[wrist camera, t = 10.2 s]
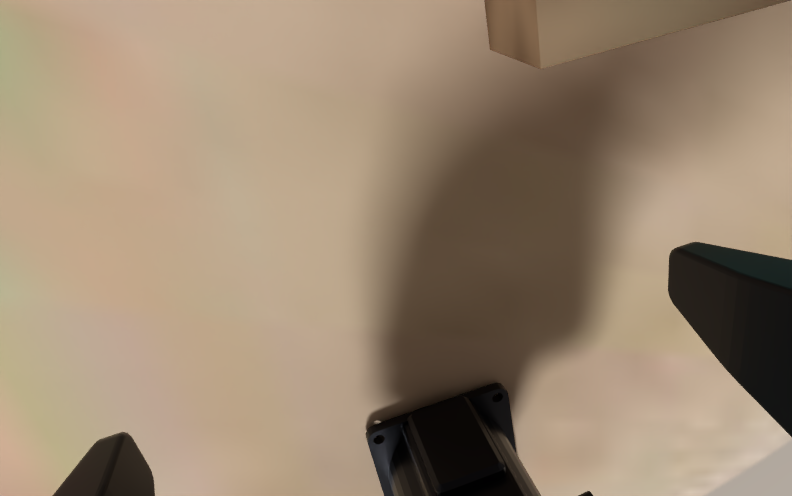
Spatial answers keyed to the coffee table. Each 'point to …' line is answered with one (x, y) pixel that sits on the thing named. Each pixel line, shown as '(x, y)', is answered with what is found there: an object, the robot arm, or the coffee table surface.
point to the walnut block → (595, 24)
